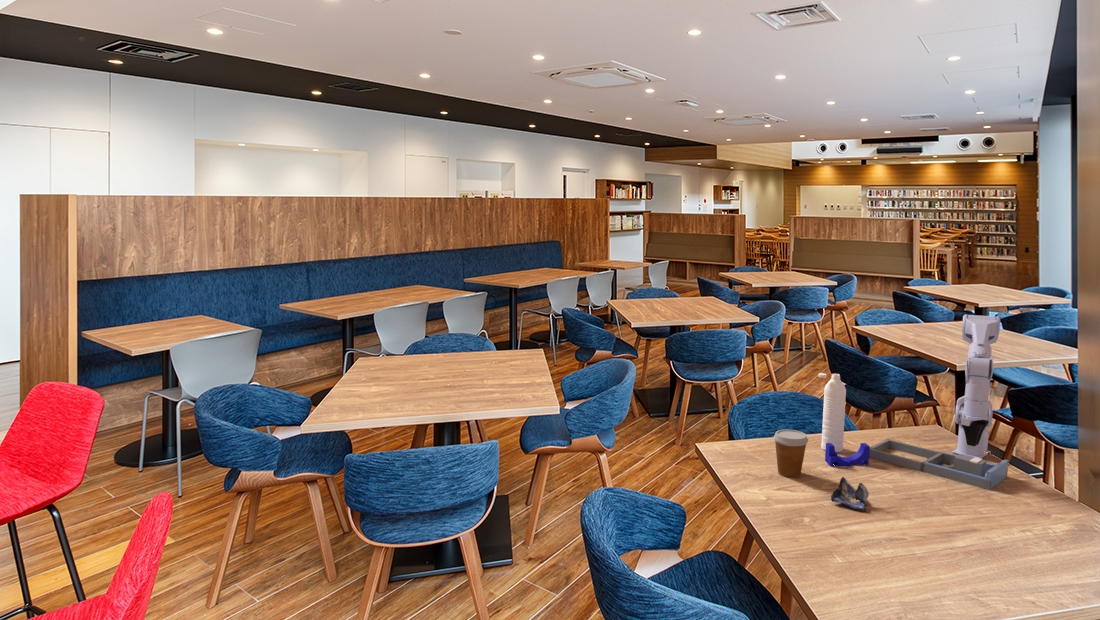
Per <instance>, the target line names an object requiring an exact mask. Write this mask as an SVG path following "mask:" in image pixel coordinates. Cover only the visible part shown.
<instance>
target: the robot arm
mask: <svg viewBox="0 0 1100 620" xmlns="http://www.w3.org/2000/svg"><path fill="white" fill-rule="evenodd" d="M961 326H962V327H961V329H962V330H961V338H962V340H963V341H964V342H966V343H968V345H969V346H968V351H967V358H966V360H965V367H964V369H965V371H964V373H965V374H964V375H965V388H964V389H965V390H964V395H963V396H961V397H959V398H958V399H957V400H956V406H955V412H954V413H955V414H954V415H955V416H954V422H955V423H956V424H958V435H957V447H956V448H955V449H954V450H952V451H951V454H954V455H959V454H961V455H965V456H969V457H973V458H974V457H976V458H980V459H983V458H985V457H986V456H988V455H989V454H991V450H988V445H989V435H990V433H989V430H988V428H991V427H992V424H993V412H994V411H993V403H992V402H991V401H990V400H989V398H990V397H989V396H990V386H991V385H990V384H991V379H992V377H993V375H994V360H993V356H992V346H991V345H992V344H993V345H994V344H996V343H997V341H998V339H999V336H1000V328H1001V317H1000V316H999V315H996V316H993V315H979V314H978V315H976V314H966V313H964V315H963V316H962V325H961ZM984 451H985V452H988V453H989V454H987V453H985V452H984ZM984 453H985V454H984Z"/></svg>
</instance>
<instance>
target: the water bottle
mask: <svg viewBox="0 0 1100 620" xmlns="http://www.w3.org/2000/svg"><path fill="white" fill-rule="evenodd" d="M827 376H828V375H827V374H826V373H822V372H819V373H818V374H817V377H818V378H821V379H826V378H827ZM823 394H824V395H823V405H822V406H823V410H822V426H821V427H822V431H821V449H822V450H823V451H825V452H826V443H832V444H833V445H834V446H835V452H836V453H841V452H843V451H844V435H845V417H846V397H847V388H846V386H845V384H844V383H843V382H842V380H841V375H840V373H832V374H831V378H830V380H828V382H827V383H826V384H825V386H824V388H823Z"/></svg>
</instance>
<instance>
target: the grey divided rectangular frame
mask: <svg viewBox="0 0 1100 620" xmlns="http://www.w3.org/2000/svg"><path fill="white" fill-rule="evenodd" d="M885 449H886V450H888V449H892V450H895V451H898V452H899V451H900V452H903V453H907V454H911V455H914V456H919V457H923V458H927V459H925V460H924V461H919V460H915V459H912V458H908V457H904V456H901V455H897V454H893V453H890V452H886V451H885ZM957 455H958V454H955V453H950V452H949V453H948V452H945V451H943V452H941V451H938V450H934V449H929V448H926V447H921V446H917V445H913V444H909V443H906V442H900V441H897V440H893V439H888V438H887V439H884V440H883V441H880V442H878V443H876V444H874V445H871V446H870V452H869V458H871V459H875V460H879V461H883V462H887V463H890V464H893V465H897V466H901V467H905V468H908V469H912V470H915V471H919V472H923V473H926V474H931V475H934V476H938V477H941V478H943V479H944V478H946V479H949V480H952V481H955V482H959V483H962V484H966V485H970V486H974V487H977V486H978V487H977V488H981V489H985V490H991V489H992V488H994V487H996V486H997V485H998V484H999V483H1001V482H1002V481H1004V480H1005V479H1006V478H1008V470H1009V460H1008V459H1003V460H1001V461H1000V462H999V463H997V464H994V463H990V462H986V471H985V477H981V476H977V475H974V474H970V473H966V472H962V471H958V470H954V469H951V468H947V467H943V466H942V465H939V464H940V463H947V464H950V465H952V466H954V457H956V456H957ZM996 484H997V485H996Z"/></svg>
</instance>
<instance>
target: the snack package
mask: <svg viewBox="0 0 1100 620" xmlns="http://www.w3.org/2000/svg"><path fill="white" fill-rule="evenodd" d="M838 484H839V485H838V486H837V488H836V489H835V490H833V491H832V494H831V496H830V500H831V502H833V503H841V504H843V505H845V507H846V508H847V509H850V510H852V511H860V512H863V513H864V512H866V510H867V506H866V503H867V501H868V498H869V496H870V495H869V494H870V493H869V490H868V488H867V487H866V486H865V485H864V483H862V482H860V483H858V486H857V489H856V488H855V487H854V486H853V485H852V484H851V483H850V482H848V480H847V479H846V478H845V476H842V477H841V478H840V481H839V483H838ZM851 499H853V500H855V501H854V502H851V503H850V500H851Z"/></svg>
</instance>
